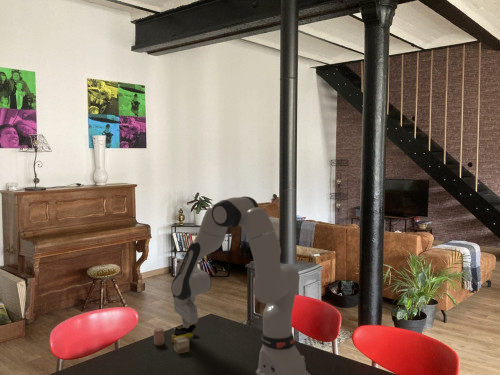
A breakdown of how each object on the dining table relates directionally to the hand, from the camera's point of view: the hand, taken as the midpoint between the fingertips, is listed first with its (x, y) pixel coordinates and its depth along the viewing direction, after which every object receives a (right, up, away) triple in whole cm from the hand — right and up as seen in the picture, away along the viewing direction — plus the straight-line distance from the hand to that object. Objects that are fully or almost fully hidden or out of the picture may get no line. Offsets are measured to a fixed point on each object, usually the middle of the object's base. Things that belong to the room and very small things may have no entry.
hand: (186, 327), depth 207 cm
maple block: (0, -7, -11) cm, 13 cm away
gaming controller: (-1, -6, 0) cm, 6 cm away
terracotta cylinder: (-11, -6, -4) cm, 13 cm away
